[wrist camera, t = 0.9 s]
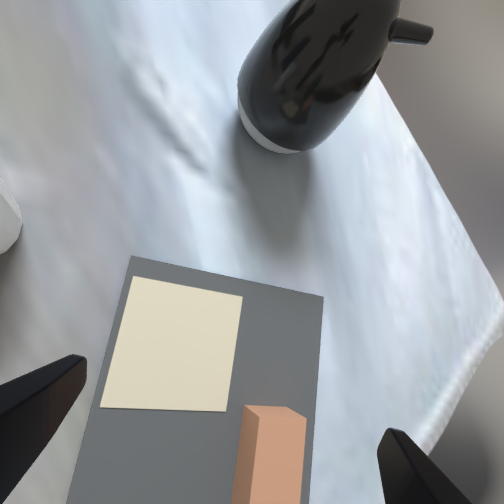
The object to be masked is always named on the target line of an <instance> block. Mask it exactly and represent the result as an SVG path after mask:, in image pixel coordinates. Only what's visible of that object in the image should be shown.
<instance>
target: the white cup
mask: <svg viewBox="0 0 504 504" xmlns="http://www.w3.org/2000/svg"><path fill="white" fill-rule="evenodd" d="M22 224H23V221H22V217H21V212H20V208H19V206H18V205H17V203H16V201H15V200H14V198H13V196H12V195H11V193H10V192H9V190H8V188H7V187H6V185H5V183H4V182H3V180H2V179H1V177H0V254H2V253H4V252H6V251H7V250H8V249H9V248H10V247H11V246H12V245H13V243H14V242H15V241H16V240H17V239H18V238H19V234H20V231H21V228H22Z"/></svg>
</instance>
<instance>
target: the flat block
mask: <svg viewBox="0 0 504 504" xmlns="http://www.w3.org/2000/svg"><path fill="white" fill-rule="evenodd" d="M306 421H307V418H305V417H303V416H302V415H300V414H298V413H296V412H295V411H293V410H291V409H289V408H288V407H277V406H254V405H244V408H243V416H242V423H241V431H240V438H239V446H238V453H237V461H236V468H235V476H234V483H233V491H232V498H231V504H300V497H301V485H302V472H303V459H304V447H305V434H306Z"/></svg>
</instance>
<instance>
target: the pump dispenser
mask: <svg viewBox="0 0 504 504" xmlns="http://www.w3.org/2000/svg"><path fill="white" fill-rule="evenodd" d="M400 7H401V0H291V1H290V2H289V3H288V4H287V5H286V6H285V7H284V8H283V9H282V10H281V11H280V12H279V13H278V14H277V15H276V16H275V18H274V19H273V20H272V21H271V22H270V24H269V25H268V26H267V27H266V29H265V30H264V31H263V33H262V34H261V35H260V37H259V38H258V40H257V41H256V43H255V44H254V46H253V47H252V49H251V50H250V52H249V53H248V55H247V57H246V59H245V60H244V62H243V64H242V67H241V69H240V72H239V75H238V83H237V87H238V109H239V114H240V117H241V120H242V123H243V125H244V127H245V128H246V130H247V132H248V133H249V134H250V136H251V137H252V138H253V139H254V140H255V141H256V142H257V143H259V144H260V145H261V146H263V147H264V148H266V149H268V150H271V151H273V152H277V153H283V154H290V153H297V152H300V151H305V150H310V149H313V148H315V147H317V146H319V145H320V144H321V143H322V142H324V141H325V140H326V139H327V138H328V137H329V136H330V135H331V134H332V133H333V132H334V131H335V130H336V128H337V127H338V126H339V125H340V124H341V123H342V121H343V120H344V119H345V118H346V117H347V115H348V114H349V113H350V112H351V110H352V109H353V108H354V106H355V105H356V103H357V102H358V100H359V99H360V97H361V96H362V94H363V93H364V91H365V90H366V88H367V86H368V85H369V83H370V81H371V80H372V78H373V76H374V74H375V72H376V71H377V69H378V66H379V64H380V62H381V60H382V58H383V56H384V54H385V52H386V50H387V47H388V45H389V43H399V44H411V45H421V46H424V45H426V44H427V43H428V42H429V41H430V40H431V38H432V36H433V33H434V29H433V27H431V26H428V25H424V24H421V23H417V22H414V21H411V20H407V19H404V18H401V17H399V13H400Z"/></svg>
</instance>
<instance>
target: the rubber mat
mask: <svg viewBox="0 0 504 504" xmlns="http://www.w3.org/2000/svg"><path fill="white" fill-rule="evenodd" d="M323 298H324V297H322V296H317V295H313V294H308V293H303V292H299V291H294V290H289V289H285V288H280V287H275V286H271V285H266V284H261V283H257V282H252V281H247V280H243V279H238V278H233V277H229V276H224V275H220V274H215V273H210V272H206V271H201V270H196V269H192V268H187V267H182V266H178V265H173V264H168V263H164V262H159V261H154V260H150V259H145V258H140V257H136V256H131V258H130V262H129V266H128V269H127V273H126V277H125V281H124V285H123V288H122V292H121V296H120V300H119V304H118V307H117V311H116V315H115V319H114V323H113V327H112V330H111V334H110V338H109V342H108V346H107V349H106V353H105V357H104V361H103V365H102V368H101V372H100V376H99V380H98V384H97V387H96V391H95V395H94V399H93V403H92V406H91V410H90V414H89V418H88V422H87V425H86V429H85V433H84V437H83V441H82V444H81V448H80V452H79V456H78V460H77V464H76V467H75V471H74V475H73V479H72V483H71V486H70V490H69V494H68V498H67V502H66V504H231V498H232V491H233V483H234V476H235V468H236V461H237V453H238V446H239V438H240V431H241V423H242V416H243V408H244V405H254V406H277V407H288V408H289V409H291V410H293V411H295V412H296V413H298V414H300V415H302V416H303V417H305V418H307V421H306V434H305V447H304V459H303V472H302V485H301V497H300V504H309V493H310V480H311V466H312V452H313V438H314V424H315V410H316V396H317V382H318V368H319V354H320V340H321V326H322V312H323Z"/></svg>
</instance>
